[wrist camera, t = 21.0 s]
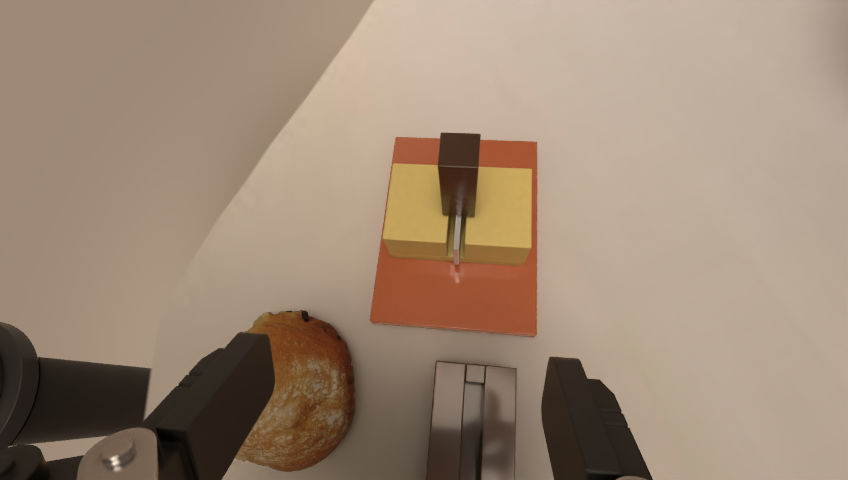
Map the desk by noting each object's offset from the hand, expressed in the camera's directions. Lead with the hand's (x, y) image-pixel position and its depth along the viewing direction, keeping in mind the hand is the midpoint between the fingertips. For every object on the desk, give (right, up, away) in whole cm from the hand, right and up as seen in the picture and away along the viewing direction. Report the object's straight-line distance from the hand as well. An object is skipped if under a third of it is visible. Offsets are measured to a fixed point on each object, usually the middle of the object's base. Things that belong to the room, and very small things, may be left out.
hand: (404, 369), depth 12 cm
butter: (+3, +5, +21) cm, 22 cm away
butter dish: (+3, +4, +22) cm, 22 cm away
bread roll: (-9, -7, +19) cm, 22 cm away
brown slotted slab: (+4, -10, +16) cm, 19 cm away
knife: (+3, +5, +20) cm, 21 cm away
